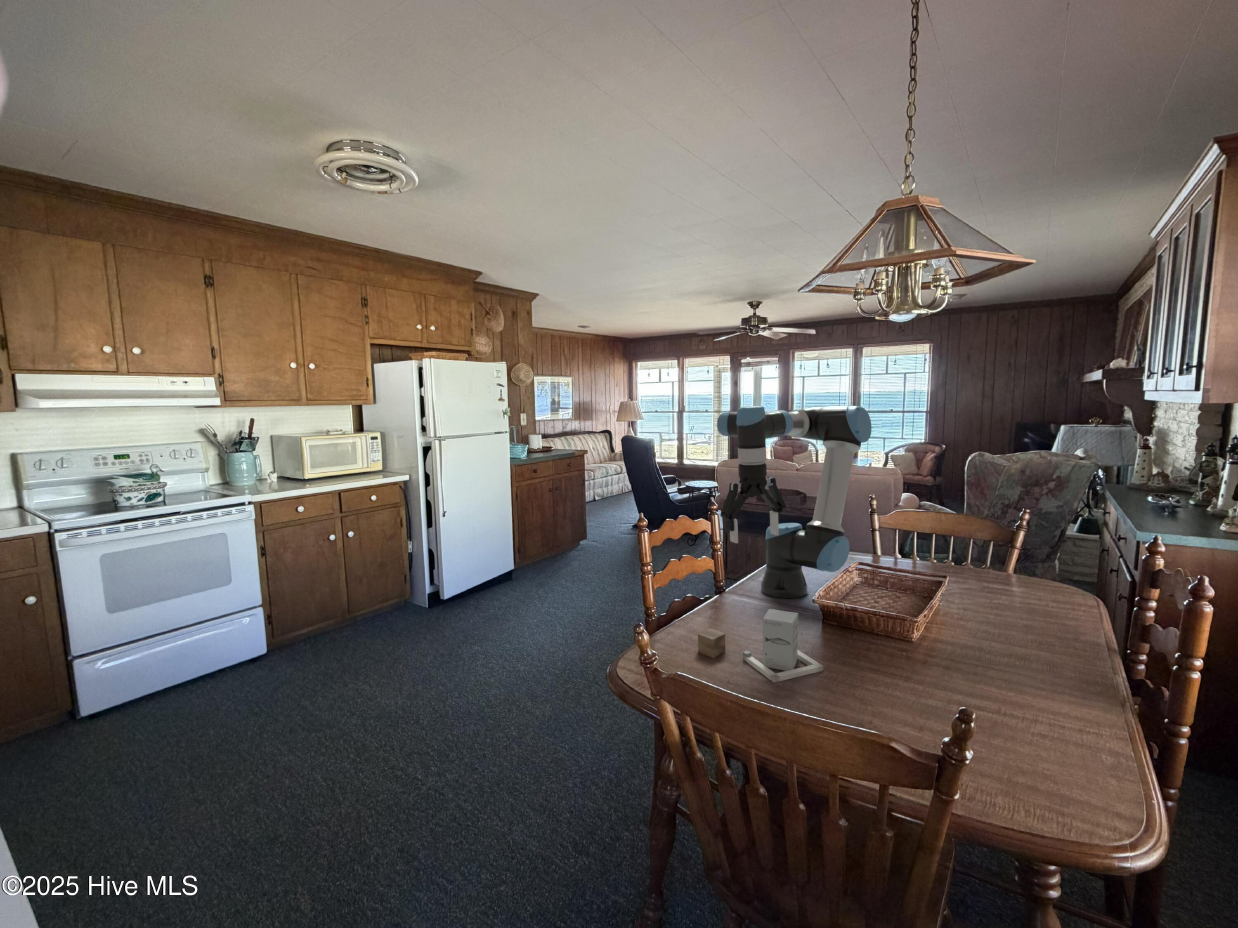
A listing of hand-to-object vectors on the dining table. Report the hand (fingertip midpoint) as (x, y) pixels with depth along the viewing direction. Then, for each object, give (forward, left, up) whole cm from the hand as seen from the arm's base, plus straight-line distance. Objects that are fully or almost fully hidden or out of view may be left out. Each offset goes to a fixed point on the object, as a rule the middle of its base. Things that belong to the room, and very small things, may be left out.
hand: (754, 538), depth 154 cm
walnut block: (+18, +6, -27) cm, 33 cm away
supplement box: (+6, +19, -27) cm, 34 cm away
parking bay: (+6, +19, -27) cm, 34 cm away
